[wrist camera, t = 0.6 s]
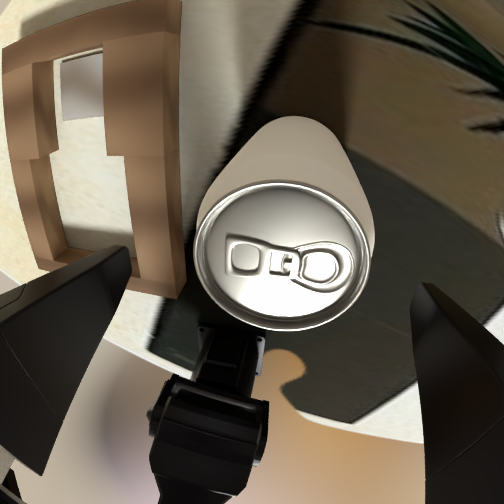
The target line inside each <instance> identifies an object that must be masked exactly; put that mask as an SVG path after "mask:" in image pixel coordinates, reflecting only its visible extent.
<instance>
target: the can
mask: <svg viewBox="0 0 504 504" xmlns="http://www.w3.org/2000/svg"><path fill="white" fill-rule="evenodd" d="M374 239H375V232H374V223H373V218H372V213H371V210H370V207H369V204H368V201H367V199H366V196H365V194H364V192H363V189H362V187H361V185H360V183H359V180H358V178H357V176H356V174H355V172H354V170H353V168H352V165H351V163H350V161H349V159H348V157H347V155H346V153H345V151H344V150H343V148H342V146H341V144H340V142H339V141H338V139H337V138H336V136H335V135H334V134H333V133H332V132H331V131H330V130H329V129H328V128H327V127H325V126H324V125H323V124H321V123H319V122H317V121H315V120H313V119H310V118H306V117H301V116H287V117H282V118H278V119H276V120H273V121H271V122H269V123H267V124H266V125H264V126H263V127H262V128H261V129H260V130H258V131H257V132H256V133H255V134H254V136H253V137H252V138H251V139H250V140H249V141H248V142H247V143H246V144H245V145H244V146H243V147H242V149H241V150H240V151H239V152H238V153H237V154H236V155H235V157H234V158H233V159H232V160H231V161H230V162H229V163H228V165H227V166H226V167H225V168H224V169H223V171H222V172H221V173H220V174H219V176H218V177H217V178H216V179H215V181H214V182H213V183H212V185H211V186H210V188H209V189H208V191H207V193H206V195H205V197H204V199H203V201H202V203H201V206H200V209H199V213H198V218H197V231H196V235H195V239H194V246H193V257H194V264H195V268H196V272H197V275H198V277H199V279H200V282H201V283H202V285H203V287H204V289H205V290H206V292H207V293H208V294H209V296H210V297H211V298H212V299H213V300H214V301H215V302H216V303H217V304H218V305H219V306H220V307H221V308H222V309H224V310H225V311H226V312H228V313H229V314H230V315H232V316H234V317H235V318H237V319H239V320H241V321H243V322H245V323H248V324H250V325H253V326H256V327H260V328H264V329H269V330H276V331H297V330H305V329H309V328H313V327H317V326H320V325H322V324H325V323H327V322H329V321H331V320H333V319H335V318H337V317H338V316H340V315H341V314H342V313H344V312H345V311H346V310H347V309H349V308H350V307H351V306H352V305H353V303H354V302H355V301H356V300H357V299H358V297H359V296H360V294H361V293H362V291H363V289H364V287H365V285H366V283H367V280H368V276H369V272H370V266H371V256H372V252H373V248H374Z"/></svg>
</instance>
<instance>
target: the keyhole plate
mask: <svg viewBox="0 0 504 504" xmlns="http://www.w3.org/2000/svg"><path fill="white" fill-rule="evenodd" d="M181 9H182V2H180V1H178V0H136V1H131V2H127V3H123V4H119V5H115V6H111V7H107V8H104V9H100V10H97V11H93V12H90V13H87V14H84V15H81V16H78V17H75V18H72V19H69V20H66V21H64V22H61V23H58V24H56V25H53V26H51V27H48V28H46V29H43V30H41V31H39V32H36V33H34V34H32V35H29V36H27V37H25V38H23V39H21V40H19V41H17V42H15V43H13V44H11V45H9V46H7V47H5V48H3V49H2V90H3V107H4V118H5V128H6V136H7V143H8V150H9V156H10V162H11V168H12V173H13V178H14V183H15V188H16V192H17V197H18V201H19V205H20V209H21V213H22V217H23V221H24V224H25V228H26V231H27V235H28V238H29V241H30V244H31V248H32V251H33V254H34V257H35V260H36V263H37V265H38V268H39V269H42V270H45V271H49V272H52V271H54V270H56V269H59V268H61V267H63V266H66V265H68V264H70V263H73V262H75V261H77V260H80V259H82V258H84V257H87V256H89V255H92V254H94V253H97V252H93V251H87V250H81V249H75V248H70V247H68V245H67V241H66V238H65V234H64V230H63V226H62V221H61V217H60V213H59V208H58V204H57V199H56V194H55V189H54V183H53V178H52V172H51V166H50V159H49V154H50V153H52V152H54V151H56V150H59V149H58V141H57V131H56V121H55V108H54V90H53V60H56V59H59V58H63V57H66V56H69V55H73V54H77V53H81V52H84V51H88V50H93V49H97V48H101V47H103V53H100V54H96V55H91V56H87V57H83V58H79V59H75V60H71V61H67V62H64V63H60V78H61V103H62V117H63V121H67V120H75V119H83V118H92V117H102V116H104V124H105V138H106V150H107V156H124V163H125V173H126V183H127V192H128V200H129V208H130V215H131V222H132V229H133V236H134V242H135V248H136V254H137V259H135V258H130V260H131V265H132V274H131V277H130V279H129V282H128V284H127V286H126V289H128V290H132V291H137V292H142V293H147V294H152V295H157V296H163V297H168V298H173V299H177V298H178V296H179V294H180V293H181V291H182V289H183V287H184V285H185V283H186V281H187V277H186V265H185V253H184V240H183V226H182V209H181V190H180V165H179V109H178V102H179V49H180V26H181Z"/></svg>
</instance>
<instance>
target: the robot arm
mask: <svg viewBox="0 0 504 504" xmlns="http://www.w3.org/2000/svg"><path fill="white" fill-rule="evenodd" d="M131 274H132V265H131V260H130V255H129V250H128V248H127V247H126V246H121V245H114V246H111V247H109V248H106V249H104V250H101V251H99V252H97V253H94V254H92V255H89V256H87V257H84V258H82V259H80V260H77V261H75V262H73V263H70V264H68V265H66V266H63V267H61V268H59V269H56V270H54V271H52V272H50V273H47V274H45V275H43V276H41V277H38V278H36V279H34V280H32V281H30V282H28V283H27V284H26V283H25V284H23V285H21V286H19V287H17V288H14V289H12V290H10V291H8V292H5V293H3V294H1V295H0V504H26V503H25V502H24V501H22V498H21V496H20V492H19V488H18V485H17V481H16V478H15V474H14V471H13V470H12V469H11V468H10V467H11V465H12V463H13V461H14V459H16V460H17V461H19V462H20V463H21V464H23V465H24V466H26V467H27V468H29V469H30V470H32V471H33V472H35V473H36V474H38V475H39V476H42V475H43V473H44V470H45V467H46V464H47V461H48V459H49V456H50V454H51V451H52V448H53V446H54V443H55V441H56V438H57V436H58V433H59V430H60V428H61V426H62V423H63V420H64V418H65V416H66V414H67V411H68V409H69V407H70V404H71V402H72V400H73V398H74V396H75V393H76V391H77V389H78V387H79V385H80V382H81V380H82V378H83V376H84V374H85V372H86V370H87V368H88V365H89V363H90V361H91V359H92V357H93V355H94V353H95V351H96V349H97V347H98V345H99V343H100V341H101V339H102V337H103V336H104V334H105V332H106V330H107V328H108V326H109V324H110V322H111V320H112V318H113V316H114V314H115V312H116V310H117V308H118V305H119V303H120V301H121V298H122V296H123V293H124V291H125V289H126V286H127V284H128V282H129V279H130V277H131ZM410 319H411V330H412V343H413V354H414V361H415V367H416V374H417V381H418V388H419V396H420V404H421V414H422V424H423V436H424V452H425V479H426V481H425V504H504V345H503V344H502V343H501V342H500V341H499V340H498V339H497V338H496V337H495V336H494V335H492V334H491V333H490V332H489V331H488V330H487V329H486V328H485V327H484V326H482V325H481V324H480V323H479V322H478V321H477V320H476V319H474V318H473V317H472V316H471V315H470V314H469V313H467V312H466V311H465V310H464V309H463V308H462V307H460V306H459V305H458V304H457V303H456V302H454V301H453V300H452V299H451V298H450V297H448V296H447V295H446V294H445V293H444V292H442V291H441V290H440V289H439V288H437V287H436V286H435V285H434V284H432V283H424V282H422V283H420V284H419V285H418V287H417V290H416V292H415V295H414V297H413V299H412V302H411V305H410ZM202 328H203V329H202ZM197 335H198V344H199V353H200V354H199V357H198V359H197V362H196V365H195V367H194V370H193V373H192V376H191V378H190V380H189V379H186V378H183V377H180V376H179V375H177V374H174V373H173V375H172V377H171V379H170V380H168V381H165V383H164V385H163V388H162V390H161V392H160V394H159V396H158V398H157V399H156V400H155V402H154V403H153V405H152V406H151V407H150V409H149V410H148V412H147V418H148V420H149V422H150V423H149V436H151V437H154V441H153V444H152V447H151V451H150V454H149V461H150V466H151V470H152V473H154V476H155V479H156V483H157V486H158V489H159V492H160V498H159V501H158V504H224V503H226V502H227V501H228V500H229V499H230V498H232V497H233V496H235V497H236V496H237V495H238V494H239V493H240V492H241V491H242V490H243V489H244V488H245V487H246V485H247V482H248V478H249V475H250V472H251V468H252V466H255V467H256V466H257V465H258V464H259V462H260V461H261V458H262V456H263V453H264V449H265V446H266V442H267V436H268V417H269V401H265V400H263V401H261V400H257V399H253V398H251V393H252V389H253V383H254V379H255V376H260V374H261V369H262V362H263V355H264V347H265V338H266V337H265V335H264V334H262V333H257V332H250V331H244V330H237V329H231V328H225V327H219V326H214V325H208V324H199V325H198V327H197ZM260 338H261V339H260Z"/></svg>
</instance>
